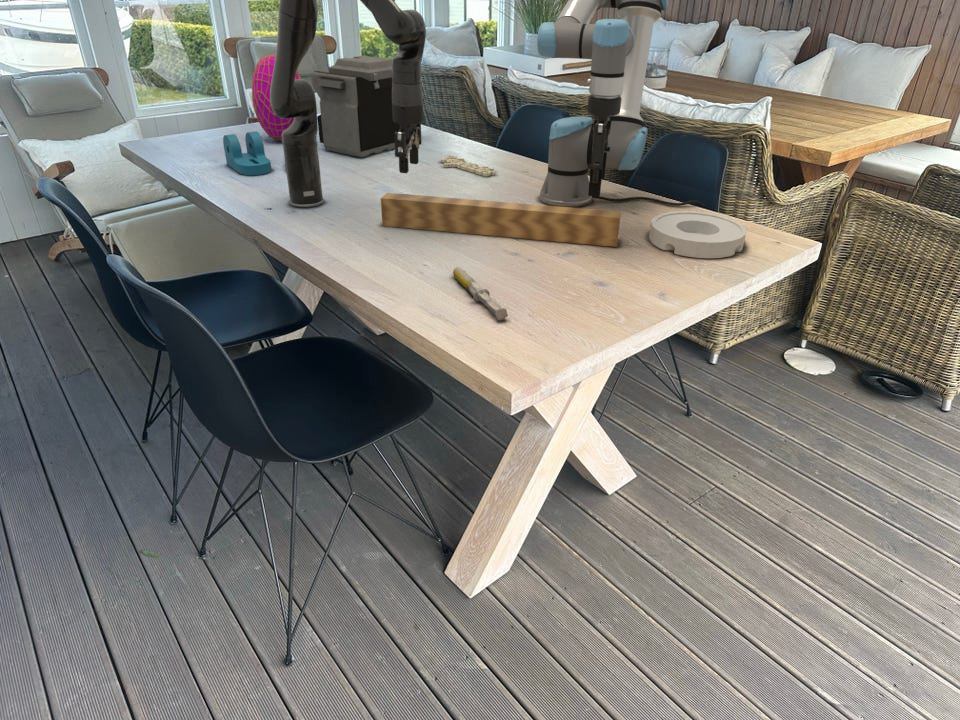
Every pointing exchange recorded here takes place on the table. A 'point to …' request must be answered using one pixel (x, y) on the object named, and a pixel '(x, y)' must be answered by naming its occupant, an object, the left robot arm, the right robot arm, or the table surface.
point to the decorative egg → (267, 98)
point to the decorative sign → (467, 166)
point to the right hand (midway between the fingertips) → (596, 186)
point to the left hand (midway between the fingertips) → (409, 168)
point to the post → (501, 219)
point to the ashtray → (697, 234)
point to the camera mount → (246, 154)
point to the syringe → (479, 293)
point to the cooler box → (356, 106)
